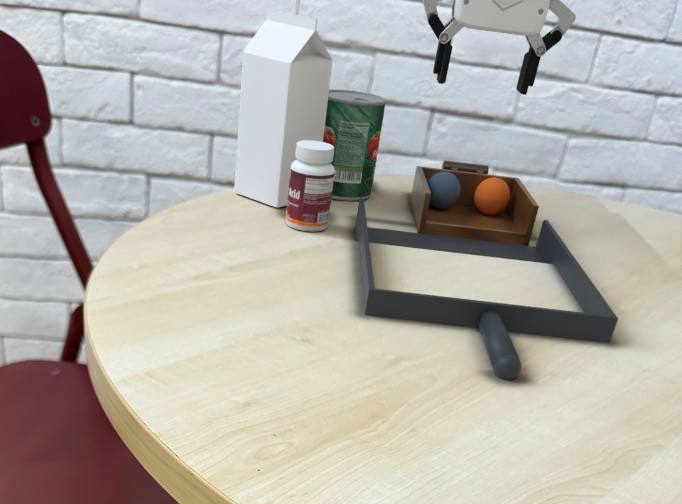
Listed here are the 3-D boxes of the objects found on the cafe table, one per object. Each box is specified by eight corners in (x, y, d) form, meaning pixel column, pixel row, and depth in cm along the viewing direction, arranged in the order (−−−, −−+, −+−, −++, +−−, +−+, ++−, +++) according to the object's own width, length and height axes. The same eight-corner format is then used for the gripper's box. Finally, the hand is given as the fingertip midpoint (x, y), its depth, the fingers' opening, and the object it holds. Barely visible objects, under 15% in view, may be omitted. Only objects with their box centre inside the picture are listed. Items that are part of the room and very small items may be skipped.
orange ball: (502, 222, 104) (506, 188, 104) (512, 208, 100) (516, 173, 100) (468, 218, 104) (472, 184, 104) (477, 204, 100) (481, 169, 100)
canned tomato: (297, 184, 108) (308, 88, 101) (348, 182, 111) (362, 89, 105) (331, 202, 103) (344, 102, 96) (383, 199, 106) (399, 103, 100)
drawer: (505, 208, 109) (515, 167, 106) (528, 247, 96) (540, 201, 93) (407, 197, 108) (415, 155, 105) (417, 234, 96) (426, 188, 93)
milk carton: (276, 209, 98) (294, 18, 87) (233, 193, 102) (245, 8, 90) (316, 201, 103) (338, 18, 91) (273, 186, 106) (289, 8, 95)
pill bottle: (280, 218, 95) (288, 138, 90) (320, 219, 97) (330, 140, 92) (290, 232, 92) (299, 149, 87) (332, 233, 93) (343, 151, 88)
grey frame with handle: (354, 228, 95) (359, 197, 93) (539, 249, 96) (547, 220, 94) (366, 378, 64) (374, 338, 62) (639, 409, 65) (655, 370, 63)
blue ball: (454, 216, 104) (457, 183, 104) (462, 202, 100) (466, 167, 100) (420, 212, 104) (423, 179, 104) (427, 198, 100) (430, 163, 100)
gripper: (444, -104, 87) (410, 83, 97) (611, -82, 87) (559, 102, 97) (437, -104, 93) (406, 72, 103) (593, -82, 93) (546, 91, 103)
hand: (480, 87), depth 100 cm, fingers open, 9 cm apart
